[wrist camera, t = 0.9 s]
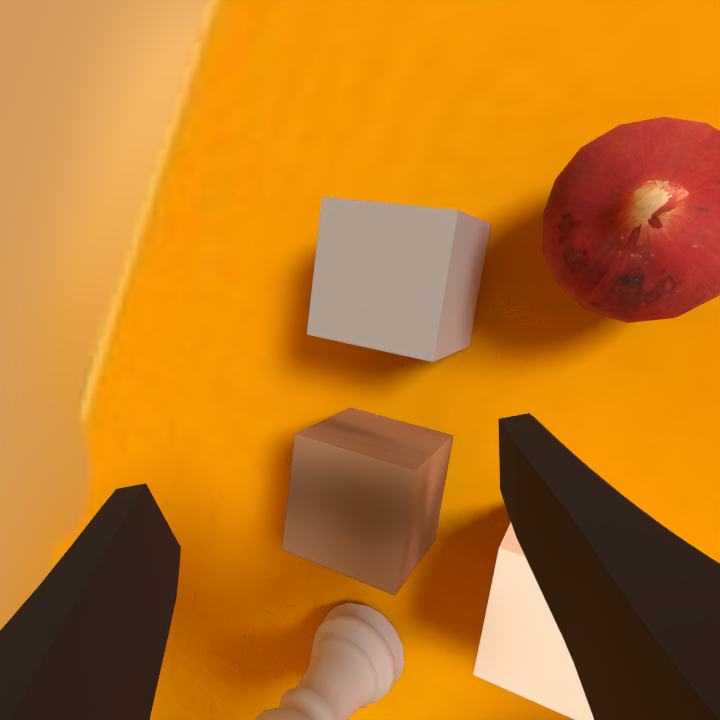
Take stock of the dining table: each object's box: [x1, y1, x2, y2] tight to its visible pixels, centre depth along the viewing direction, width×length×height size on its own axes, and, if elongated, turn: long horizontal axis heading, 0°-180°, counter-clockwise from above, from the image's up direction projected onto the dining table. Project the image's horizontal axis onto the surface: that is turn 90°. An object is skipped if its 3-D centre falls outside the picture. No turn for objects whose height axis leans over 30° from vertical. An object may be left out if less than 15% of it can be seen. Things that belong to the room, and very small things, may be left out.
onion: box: [543, 117, 720, 323], centre depth 16 cm, size 6×6×8 cm
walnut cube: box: [282, 408, 453, 596], centre depth 23 cm, size 5×5×5 cm
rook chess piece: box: [256, 603, 404, 720], centre depth 24 cm, size 4×4×8 cm
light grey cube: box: [307, 197, 491, 362], centre depth 21 cm, size 5×5×5 cm
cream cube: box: [473, 523, 594, 720], centre depth 20 cm, size 5×5×5 cm
